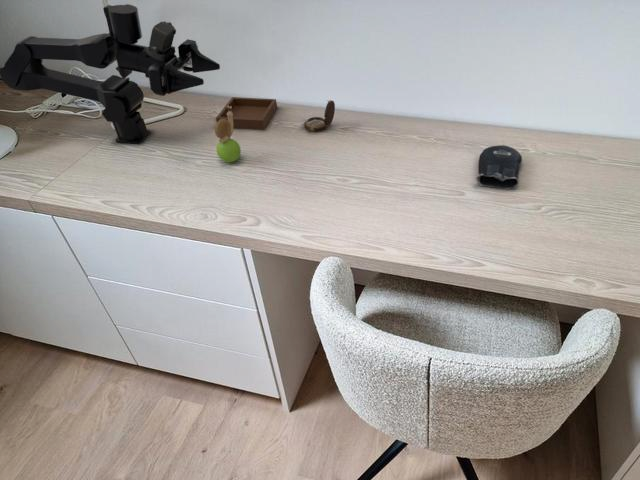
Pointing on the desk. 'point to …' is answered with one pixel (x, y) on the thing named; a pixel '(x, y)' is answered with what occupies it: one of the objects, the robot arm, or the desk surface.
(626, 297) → the desk surface
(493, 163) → the black beanie hat
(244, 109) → the tray
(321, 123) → the compass
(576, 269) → the desk surface
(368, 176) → the desk surface
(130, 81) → the robot arm
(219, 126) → the green and brown figure
